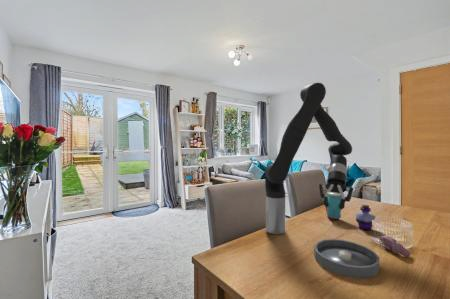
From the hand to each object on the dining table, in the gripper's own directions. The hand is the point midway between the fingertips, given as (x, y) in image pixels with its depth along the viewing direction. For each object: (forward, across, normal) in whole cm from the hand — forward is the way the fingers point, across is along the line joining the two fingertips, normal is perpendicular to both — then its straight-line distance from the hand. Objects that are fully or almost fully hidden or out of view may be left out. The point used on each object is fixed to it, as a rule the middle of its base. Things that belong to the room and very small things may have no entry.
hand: (333, 207), depth 93 cm
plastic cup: (-14, -4, +37) cm, 40 cm away
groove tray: (+19, +5, +4) cm, 20 cm away
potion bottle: (-9, +12, +32) cm, 35 cm away
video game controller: (+7, +21, +17) cm, 28 cm away
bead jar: (+2, 0, +4) cm, 5 cm away
